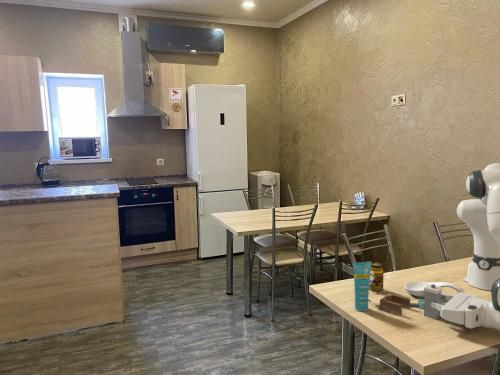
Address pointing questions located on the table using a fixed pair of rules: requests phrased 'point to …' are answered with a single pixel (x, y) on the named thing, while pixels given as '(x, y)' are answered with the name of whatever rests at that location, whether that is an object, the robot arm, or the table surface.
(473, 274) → the robot arm
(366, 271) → the tube
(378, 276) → the condiment
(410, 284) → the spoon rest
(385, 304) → the holder
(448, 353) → the table surface
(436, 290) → the grey block with knob
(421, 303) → the clip
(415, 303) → the cable
